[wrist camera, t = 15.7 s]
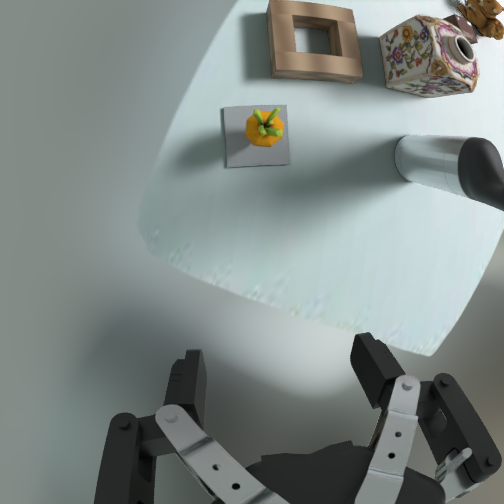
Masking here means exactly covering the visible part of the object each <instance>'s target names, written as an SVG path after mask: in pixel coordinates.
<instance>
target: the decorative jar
mask: <svg viewBox="0 0 504 504" xmlns="http://www.w3.org/2000/svg"><path fill="white" fill-rule="evenodd" d="M379 39H380V45H381V51H382V57H383V64H384V71H385V79H386V86H387V88H392V89H396V90H400V91H404V92H409V93H413V94H417V95H421V96H424V97H428V98H434V97H442V96H448V95H455V94H462V93H472V92H473V91H474V89H475V87H476V84H477V80H478V77H479V75H480V71H479V65H478V60H477V56H476V53H475V51H474V49H473V47H472V46H471V44H470V43H469V41H468V40H467V38H466V37H465V36H464V34H463V33H462V32H461V31H460V29H459V28H458V27H456V26H454V25H453V24H451V23H449V22H447V21H445V20H443V19H439V18H433V17H428V16H420V15H416V16H414V17H412V18H410V19H408V20H406V21H404V22H403V23H401V24H399V25H397V26H395V27H394V28H392V29H391V30H389V31H387V32H386V33H385V34H383V35H382V36H380V37H379Z"/></svg>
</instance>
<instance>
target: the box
mask: <svg viewBox="0 0 504 504" xmlns="http://www.w3.org/2000/svg"><path fill="white" fill-rule="evenodd" d="M443 20H445V21H447V22H449V23H451V24H453V25H454V26H456V27H458V28H459V29H460V31H461V32H462V33H463V34H464V36H465V37H466V38H467V40H468V41H469V43H470V44H474V43H478V42H477V39H476V36H475V33H474V31H473V28H472V25H471V23H470V22H469V21H468V20H466V19H464V18H462V17H459V16H457V15H455V14H454V15H451V16H449V17H446V18H444V19H443Z"/></svg>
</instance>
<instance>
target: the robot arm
mask: <svg viewBox="0 0 504 504" xmlns="http://www.w3.org/2000/svg"><path fill="white" fill-rule="evenodd" d="M395 164H396V167H397V169H398V171H399V173H400V174H401V176H402V177H403V178H405V179H406V180H409V181H412V182H416V183H420V184H423V185H427V186H430V187H434V188H437V189H441V190H444V191H447V192H451V193H454V194H457V195H461V196H464V197H467V198H470V199H473V200H476V201H479V202H482V203H485V204H487V205H490V206H493V207H495V208H497V209H500V210H502V211H504V169H503V165H502V160H501V157H500V155H499V152H498V150H497V149H496V147H495V146H494V145H493V144H492V143H491V142H490V141H489V140H487V139H484V138H477V137H462V136H440V135H407V136H405V137H403V138H402V139H400V141H399V142H398V144H397V146H396V149H395ZM350 361H351V365H352V368H353V370H354V372H355V373H356V376H357V377H358V380H359V382H360V384H361V386H362V388H363V390H364V391H365V394H366V396H367V398H368V400H369V402H370V404H371V406H372V408H373V409H375V408H379V407H381V409H382V411H381V413H380V416H379V419H378V422H377V425H376V427H375V430H374V433H373V435H372V438H371V440H370V442H369V445H368V446H367V447H365V446H356V445H353V444H352V441H351V440H350V441H346V442H342V443H338V444H333V445H330V446H327V447H325V448H323V449H321V450H319V451H316V452H314V453H312V454H288V453H282V454H273V455H264V456H261V461H260V462H256V463H254V464H252V465H250V466H248V467H246V468H245V469H244V468H243V467H242V466H241V465H240V464H238V462H237V461H236V460H235V459H233V458H232V457H231V456H230V455H229V454H228V453H227V452H226V451H225V450H224V449H223V448H222V447H221V446H220V445H219V444H218V443H217V442H216V441H215V440H214V439H213V438H211V437H210V438H209V437H208V436H206V435H205V433H204V432H203V431H204V415H205V400H206V386H207V373H206V367H205V362H204V358H203V353H202V350H201V349H189V350H187V351H186V357H185V359H177V361H176V362H175V363H174V364H173V366H172V369H171V373H170V377H169V382H168V387H167V391H166V396H165V401H164V405H163V407H161V408H160V409H159V410H158V411H157V413H156V414H154V415H151V416H147V417H142V418H136V417H135V416H134V415H133V414H131V413H119V414H117V415H116V416H114V417H113V418H112V420H111V422H110V426H109V430H108V434H107V438H106V442H105V446H104V451H103V456H102V461H101V466H100V471H99V476H98V481H97V487H96V493H95V500H94V504H154V487H155V471H156V458H157V456H159V455H165V454H170V453H175V454H176V455H177V456H178V457H179V459H180V460H181V461H182V462H183V464H184V465H185V466H186V467H187V469H188V470H189V471H190V472H191V473H192V475H193V476H194V477H195V478H196V479H197V481H198V482H199V483H200V484H201V486H202V487H203V488H204V489H205V490H206V491H207V492H208V493H209V494H210V495H211V497H212V498H213V499H214V502H212V503H211V504H445V503H446V502H448V501H449V500H451V499H453V498H460V497H462V496H464V495H465V494H467V493H468V492H470V491H471V490H473V489H474V488H475V487H477V486H478V485H479V484H481V483H482V482H484V481H485V480H486V479H488V478H489V477H490V476H491V475H493V474H494V473H495V472H496V471H497V470H498V469H499V468H500V466H501V462H502V458H501V455H500V453H499V451H498V449H497V447H496V445H495V443H494V442H493V440H492V438H491V436H490V435H489V433H488V431H487V429H486V427H485V426H484V424H483V422H482V421H481V419H480V417H479V416H478V414H477V413H476V411H475V410H474V408H473V406H472V405H471V403H470V402H469V400H468V398H467V397H466V395H465V394H464V392H463V391H462V389H461V388H460V386H459V385H458V384H457V382H456V381H455V379H454V378H453V377H452V376H451V375H449V374H446V373H440V374H438V375H436V376H435V378H434V380H433V381H423V382H420V381H419V380H418V379H417V378H416V377H414V376H412V375H406V374H405V372H404V371H403V369H402V368H401V366H400V365H399V363H398V362H397V360H396V359H395V357H393V354H392V353H391V352H390V350H389V349H388V347H387V346H386V344H384V343H383V342H381V341H380V340H379V339H378V340H375V339H374V338H373V336H372V335H371V333H370V332H367V333H361V334H356V335H355V338H354V342H353V347H352V351H351V355H350ZM441 410H442V411H441ZM442 412H443V414H444V415H445V417H446V419H447V420H446V419H445V417H444V415H443V414H442ZM417 421H418V423H419V425H420V427H421V429H422V431H423V433H424V436H425V438H426V440H427V442H428V444H429V446H430V449H431V451H432V453H433V455H434V458H435V460H436V462H437V467H436V470H435V477H434V478H435V480H434V479H432V478H430V477H427V476H425V475H423V474H421V473H419V472H417V471H415V470H413V469H411V468H408V467H406V464H407V460H408V457H409V453H410V450H411V446H412V442H413V438H414V434H415V430H416V425H417Z"/></svg>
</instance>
